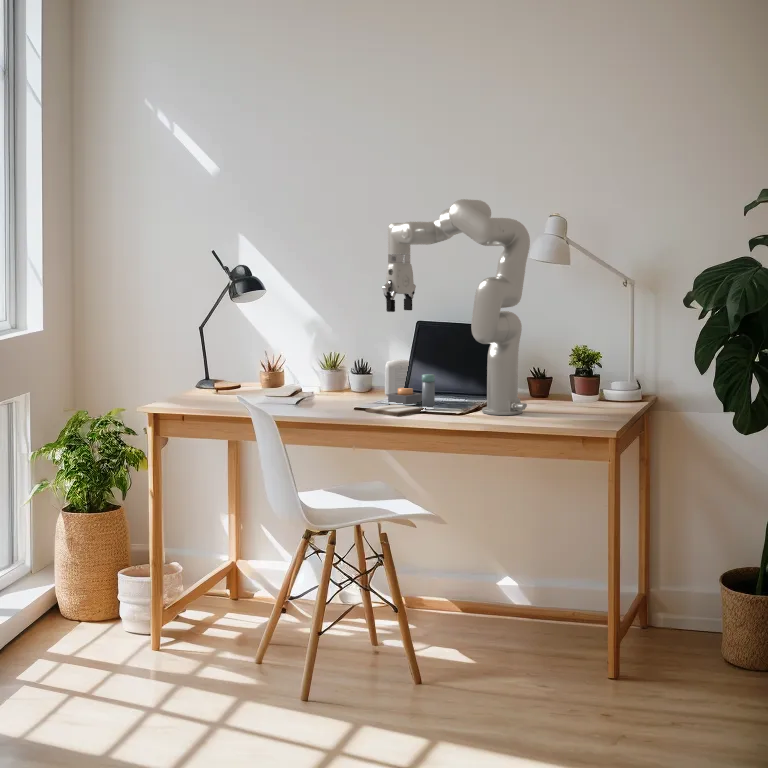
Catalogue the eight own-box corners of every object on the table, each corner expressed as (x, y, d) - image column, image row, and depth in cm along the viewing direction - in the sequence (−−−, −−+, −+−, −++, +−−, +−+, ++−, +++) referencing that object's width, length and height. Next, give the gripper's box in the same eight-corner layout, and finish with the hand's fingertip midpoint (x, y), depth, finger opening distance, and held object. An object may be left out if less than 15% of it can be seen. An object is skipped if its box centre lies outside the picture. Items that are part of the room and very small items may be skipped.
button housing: (422, 404, 329) (422, 393, 328) (405, 406, 323) (405, 396, 323) (404, 401, 334) (404, 391, 334) (388, 404, 329) (388, 394, 328)
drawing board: (425, 411, 314) (425, 407, 314) (397, 416, 305) (397, 412, 304) (393, 406, 324) (393, 403, 323) (365, 411, 314) (365, 407, 314)
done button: (415, 396, 329) (415, 388, 328) (405, 397, 325) (405, 390, 325) (404, 394, 332) (404, 387, 332) (394, 396, 328) (394, 388, 328)
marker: (437, 408, 319) (437, 374, 318) (428, 410, 316) (428, 376, 315) (427, 407, 322) (427, 373, 321) (419, 409, 319) (419, 374, 318)
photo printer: (410, 392, 356) (410, 358, 355) (414, 394, 352) (414, 359, 351) (383, 394, 353) (383, 359, 351) (387, 395, 349) (387, 360, 347)
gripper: (392, 260, 325) (392, 312, 327) (423, 259, 339) (423, 310, 341) (374, 260, 330) (375, 311, 332) (405, 259, 343) (405, 309, 345)
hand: (399, 310), depth 336 cm, fingers open, 9 cm apart
